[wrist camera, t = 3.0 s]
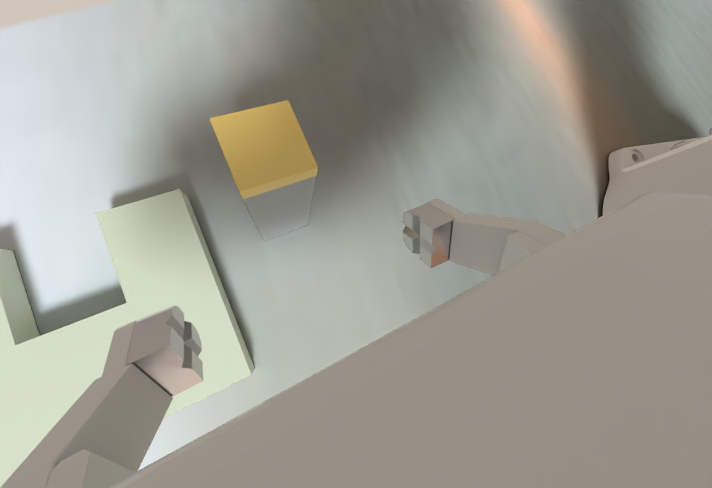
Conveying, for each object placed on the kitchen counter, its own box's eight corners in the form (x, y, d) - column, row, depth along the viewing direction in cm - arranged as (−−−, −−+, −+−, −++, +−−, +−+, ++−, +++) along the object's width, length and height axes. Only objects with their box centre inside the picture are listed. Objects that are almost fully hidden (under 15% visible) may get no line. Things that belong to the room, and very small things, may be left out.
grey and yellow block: (290, 185, 20) (288, 100, 12) (307, 225, 20) (318, 167, 11) (246, 199, 19) (209, 118, 11) (263, 241, 19) (239, 192, 10)
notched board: (188, 197, 18) (179, 188, 17) (254, 368, 17) (251, 374, 16) (-93, 282, 15) (-135, 280, 13) (-31, 510, 13) (-70, 535, 12)
